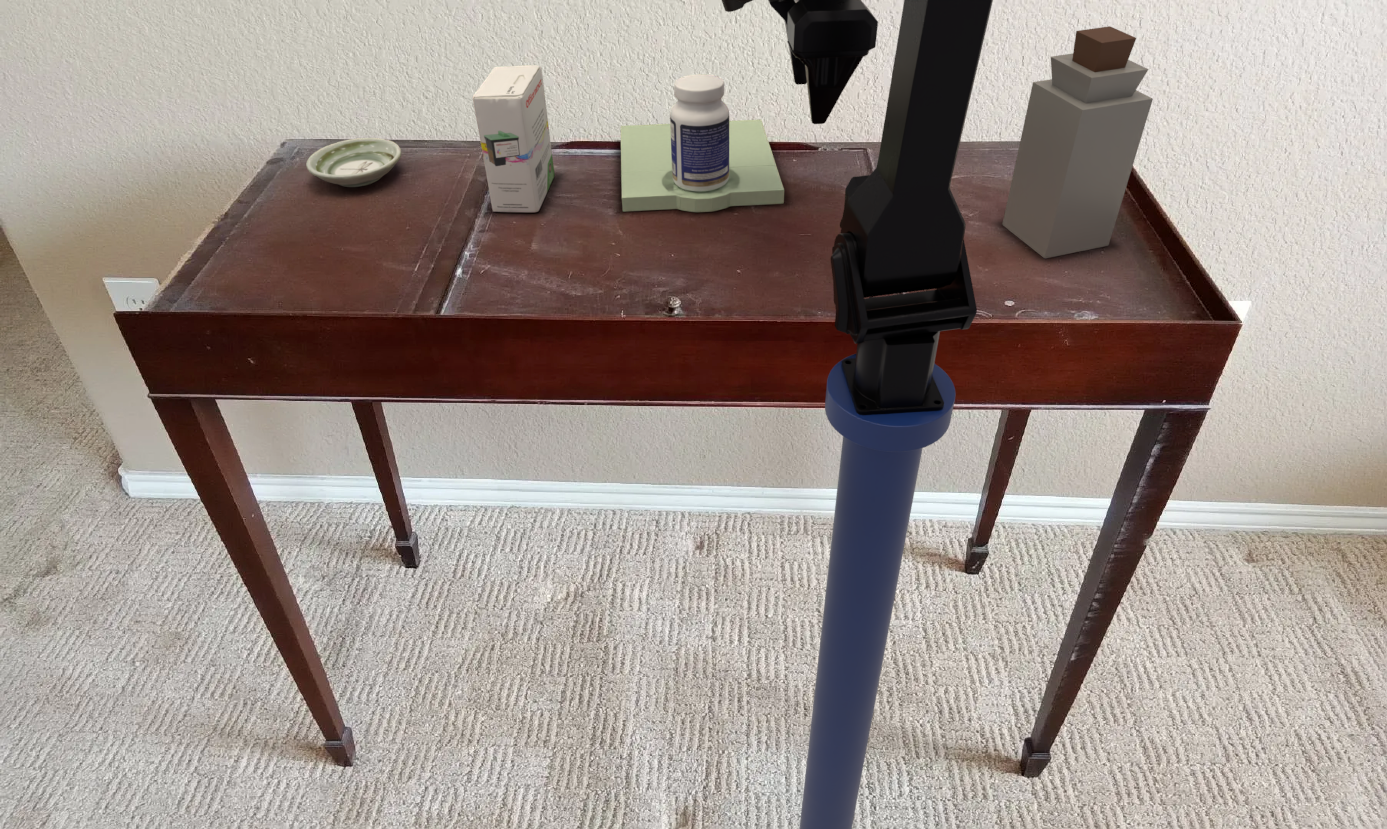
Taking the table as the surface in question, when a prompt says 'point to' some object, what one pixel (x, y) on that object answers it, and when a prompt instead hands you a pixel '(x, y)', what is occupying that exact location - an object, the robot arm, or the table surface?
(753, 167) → the plate
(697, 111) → the pill bottle
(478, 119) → the ink box
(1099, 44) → the perfume bottle
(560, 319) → the table surface
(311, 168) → the saucer
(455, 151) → the table surface
